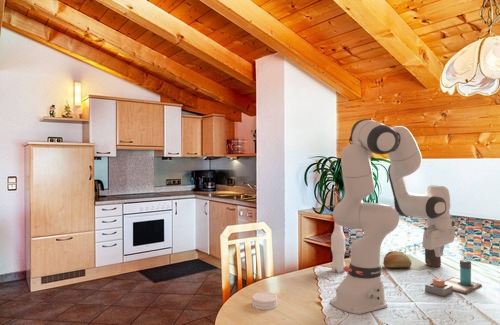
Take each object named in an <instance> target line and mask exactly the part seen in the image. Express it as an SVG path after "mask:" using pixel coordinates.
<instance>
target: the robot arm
mask: <svg viewBox="0 0 500 325" xmlns="http://www.w3.org/2000/svg"><path fill="white" fill-rule="evenodd" d="M348 142H349V144H348V145H346V146H344V147H343V149H342V150H341V155H340V160H341V161H340V164H341V172H342V173H341V174H342V179H343V186H344V187H343V188H344V193H343V194H344V195H343V197H342V199H341V200H340V201H339V202H338V203H337V204H336V205H335V206H334V208H333V212H332V216H333V221H334V223H335V222H336V223H337V224H338V225H340V226H342V227H344V228H346V229H351V230H352V229H354V230H360V231H362V230H363V232H364V234H363V237H360V238H359V237H358V238H357V239H355V240H353V242H352V243H351V245H350V263H349V266H347V265H346V266H345V268H344V272H347V275H346V276H345V277H344V279H343V280H342V281H341V282H340V283H339V284H338V286H337V288H336V295H335V297H333V298H331V299H329V303H330V305H332V306H333V307H335V308H337V309H339V310H342V311H344V312H347V313H350V314H356V315H361V314H365V313H369V312H373V311H377V310H381V309H385V308H388V303H387V302H386V298H385V287H384V283H383V281H382V278H381V276H382V266H381V263H380V262H381V261H380V258H381V248H382V244H383V241H384V239H385V238H386V237H387V235H389V234H391V232H393V231H395V230H396V229H397V227H398V225H399V222H400V216H402V217H414V218H419V219H420V218H421V219H426V227H427V229H426V230H425V231H423V234H422V236H423V237H422V247H423V248H424V250H425V249H429V250H433V249H434V251H435V256H436V257H440V256H441V257H442V256H444V251H445V250H444V249H445V246H446V245H448V244H449V245H450V244H451V243H454V241H455V236H456V235H455V233H456V230H455V226H456V221H455V220H453V219H451V214H450V210H451V198H450V197H451V196H450V192H449V188H448V187H446V186H444V185H437V184H436V185H435V184H430V185H428V187H427V190H426V192H425V193H423V194H419V193H412V192H409V191H408V190H407V187H406V183H405V179H404V178H405V177H408V176H411V175H412V174H414V173H416V171H418V170H419V168H420V167H421V166H422V164H423V163H422V162H423V156H422V153H421V151H420V148H419V146H418V144H417V141H416V139H415V137H414V136H413V134H412V133H411V131H410V130H409V129H408V128H407V127H405V126H403V125H398V126H397V125H395V126H392V127H391V126H389V125H385V124H384V123H381V122H379V121H377V120H372V119H369V118H365V119H360V120H357V121H356V122H355V123H354V124H353V126H352V128H351V131H350V135H349V139H348ZM373 153H374V154H375V155H386V154H387V156H388V158H389V161H390V164H389V165H388V168H387V175H388V178H389V179H388V180H389V184H390V187H391V193H392V195H393V204H394V205H392V206H391V205H390V204H389V205H388V204H384V203H377V202H365V201H364V198H367V197H369V196H370V195H372V193H374V190H375V179H374V174H373V166H372V163H371V161H372V160H371V159H372V155H373Z"/></svg>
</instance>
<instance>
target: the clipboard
mask: <svg viewBox="0 0 500 325" xmlns="http://www.w3.org/2000/svg"><path fill="white" fill-rule="evenodd" d="M444 281H445V284H448V285H452V289H453V292H456V293H458V292H459V294H462V295H467V293H468V294H469V292H470V293H471V292H473V291H475V290H477V289H478V287H479V288H480V286H481V287H482V286H483V285H482V283H479V282H473V281H471V285H470V286H465V285H462V284H460V278H458V277H454V276H452V277H450V278H447V279H445V280H444ZM476 288H477V289H476ZM474 289H475V290H474ZM472 290H473V291H472Z"/></svg>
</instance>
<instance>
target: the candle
mask: <svg viewBox="0 0 500 325" xmlns="http://www.w3.org/2000/svg"><path fill="white" fill-rule="evenodd" d="M423 228H424V229H423V230H424V231H425V230H426V229H427V226H425V227H423ZM424 231H423V232H424ZM441 257H442V256H440V257H436V256H435V251H434V249H433V250H429V249H425V248H424V262H425V264H426V265H427V266H429V267H431V268H437V267H438V268H439V267H440V266H441V265H442V259H441Z"/></svg>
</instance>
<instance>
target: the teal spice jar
mask: <svg viewBox="0 0 500 325" xmlns="http://www.w3.org/2000/svg"><path fill="white" fill-rule="evenodd" d="M459 268H460V269H459V270H460V272H459V277H460V278H459V279H460V284H462V285H465V286H470V285H471V282H472V262H471V260H468V259H467V260H466V259H461V260H459Z"/></svg>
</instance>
